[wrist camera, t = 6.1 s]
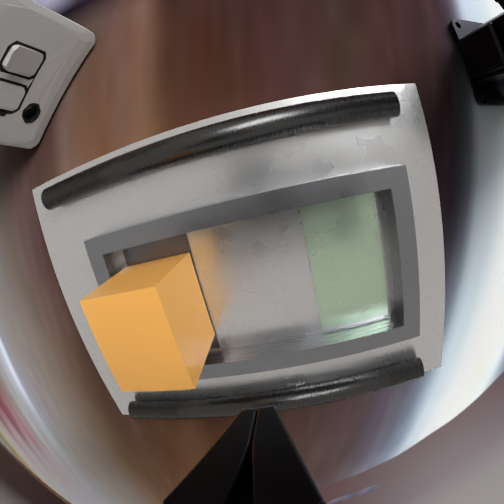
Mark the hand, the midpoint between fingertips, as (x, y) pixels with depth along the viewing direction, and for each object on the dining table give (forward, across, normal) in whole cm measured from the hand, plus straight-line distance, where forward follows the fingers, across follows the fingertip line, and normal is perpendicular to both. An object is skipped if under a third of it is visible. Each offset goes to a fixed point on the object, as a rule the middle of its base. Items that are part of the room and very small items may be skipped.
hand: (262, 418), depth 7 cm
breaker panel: (+12, +2, 0) cm, 12 cm away
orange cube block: (+10, +6, 0) cm, 11 cm away
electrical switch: (+12, +13, -17) cm, 25 cm away
